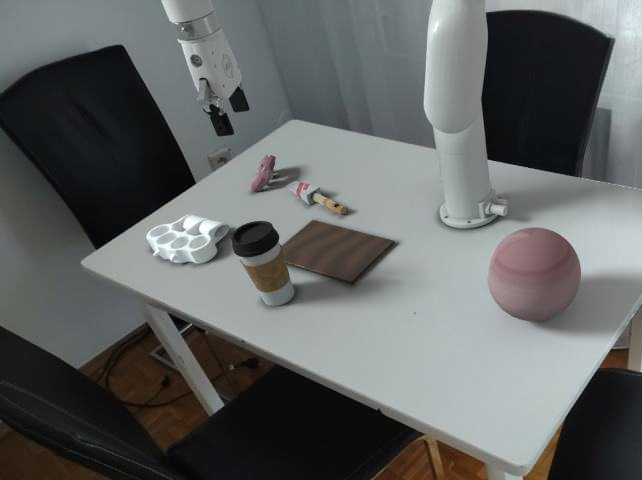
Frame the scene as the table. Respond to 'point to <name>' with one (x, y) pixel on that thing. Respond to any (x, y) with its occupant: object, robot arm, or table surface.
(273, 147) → the table surface
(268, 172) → the video game controller
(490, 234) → the table surface
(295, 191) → the white and tan bar
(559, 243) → the pink ball
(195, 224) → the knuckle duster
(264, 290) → the coffee cup
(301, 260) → the board
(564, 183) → the table surface
